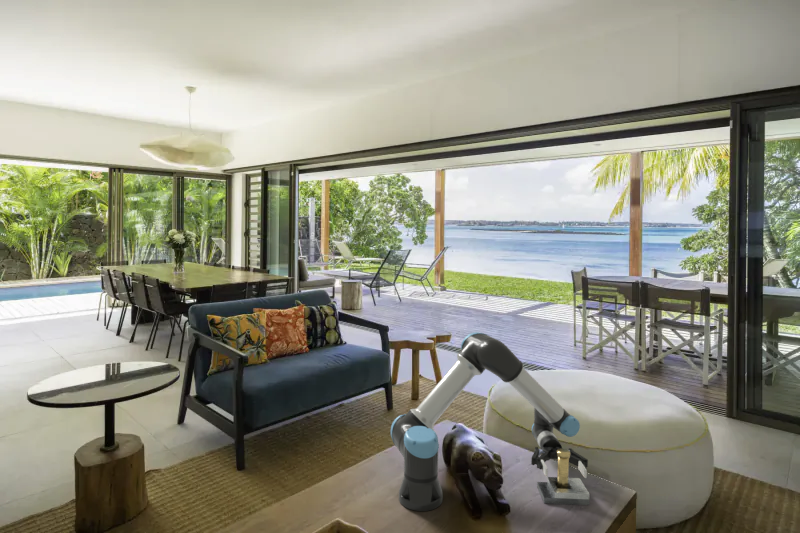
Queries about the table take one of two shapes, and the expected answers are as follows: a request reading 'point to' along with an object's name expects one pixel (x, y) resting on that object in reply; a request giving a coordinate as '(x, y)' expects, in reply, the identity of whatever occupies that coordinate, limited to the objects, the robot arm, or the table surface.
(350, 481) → the table surface
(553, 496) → the square hole block
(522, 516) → the table surface
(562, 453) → the brass pin
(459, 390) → the robot arm
